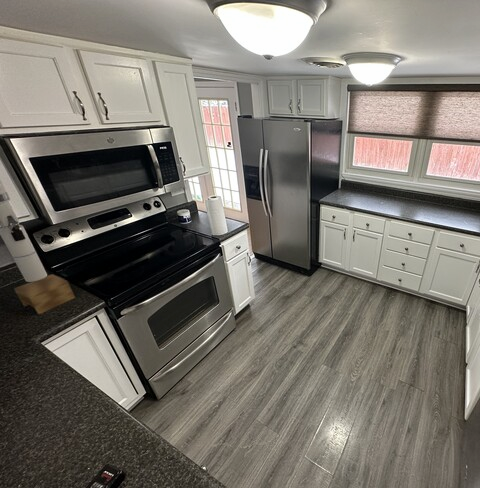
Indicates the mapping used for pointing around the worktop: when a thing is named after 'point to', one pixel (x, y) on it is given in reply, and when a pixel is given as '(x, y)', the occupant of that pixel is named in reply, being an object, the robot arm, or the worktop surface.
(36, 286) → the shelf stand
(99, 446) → the worktop surface
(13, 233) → the robot arm
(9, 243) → the cylindrical container
